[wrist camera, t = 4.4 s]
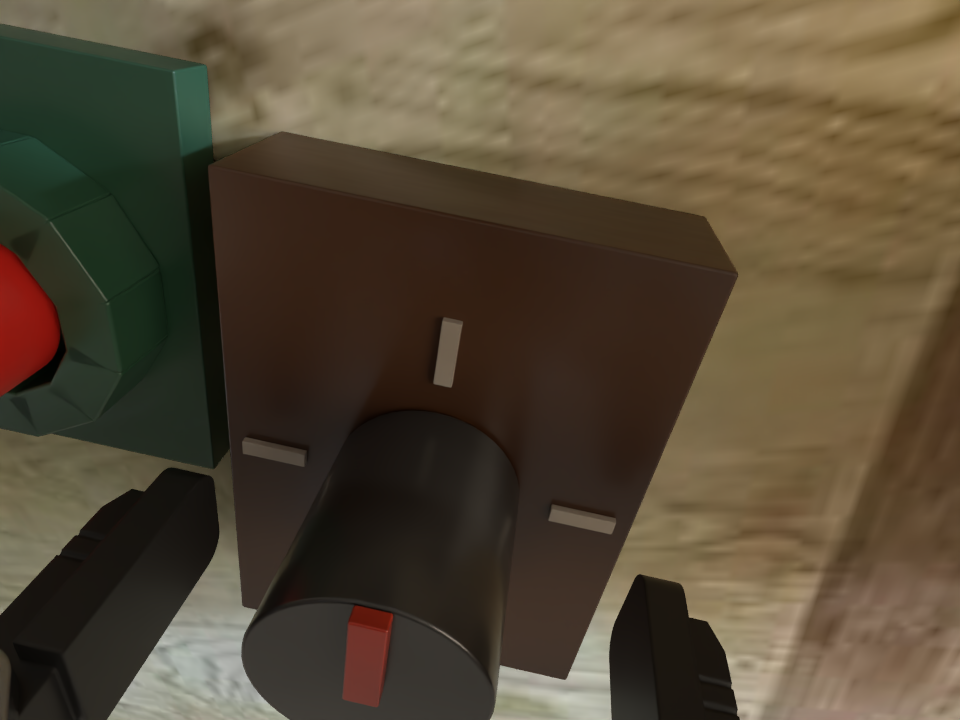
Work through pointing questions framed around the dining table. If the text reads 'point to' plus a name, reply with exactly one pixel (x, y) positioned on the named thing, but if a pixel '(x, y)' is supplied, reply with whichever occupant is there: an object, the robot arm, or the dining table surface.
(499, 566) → the knob
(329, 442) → the panel
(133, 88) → the button box
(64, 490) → the dining table surface
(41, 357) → the button
